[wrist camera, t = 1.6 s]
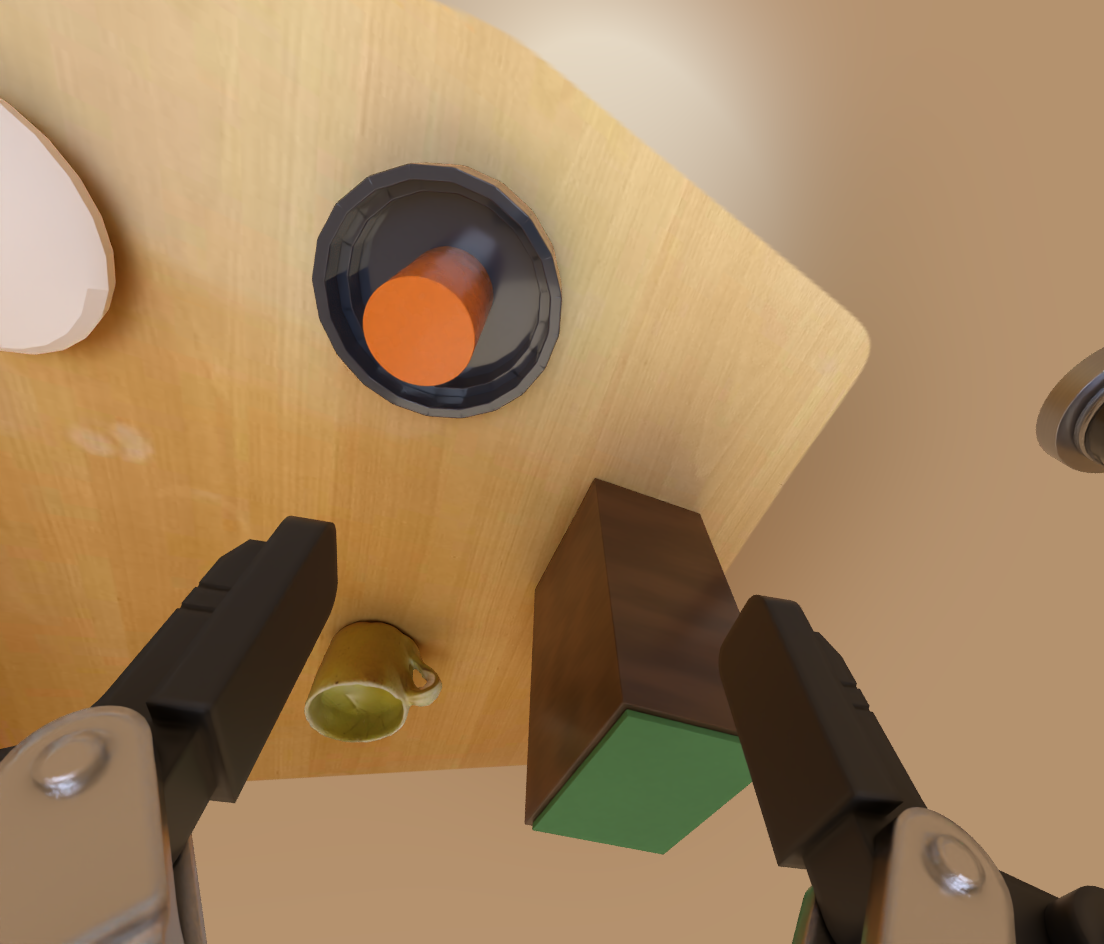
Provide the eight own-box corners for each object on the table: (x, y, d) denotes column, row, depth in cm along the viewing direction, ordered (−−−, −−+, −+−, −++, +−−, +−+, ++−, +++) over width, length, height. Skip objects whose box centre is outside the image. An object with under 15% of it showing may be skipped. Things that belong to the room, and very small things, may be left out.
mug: (326, 695, 54) (303, 770, 45) (320, 610, 52) (293, 671, 42) (442, 683, 57) (442, 752, 47) (441, 602, 54) (441, 658, 45)
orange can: (418, 231, 31) (374, 256, 23) (504, 267, 32) (489, 302, 24) (399, 316, 34) (353, 364, 26) (478, 346, 35) (457, 401, 27)
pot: (363, 118, 28) (333, 112, 24) (595, 223, 31) (601, 233, 27) (326, 348, 35) (299, 372, 32) (517, 417, 38) (513, 446, 34)
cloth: (626, 708, 25) (627, 716, 24) (782, 747, 26) (785, 754, 26) (532, 823, 31) (532, 830, 31) (662, 847, 33) (663, 854, 33)
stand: (594, 477, 41) (623, 702, 24) (700, 513, 43) (793, 744, 26) (534, 589, 48) (524, 824, 31) (627, 616, 50) (664, 851, 33)
